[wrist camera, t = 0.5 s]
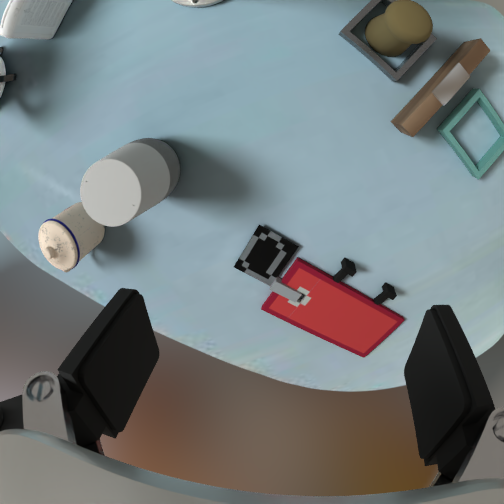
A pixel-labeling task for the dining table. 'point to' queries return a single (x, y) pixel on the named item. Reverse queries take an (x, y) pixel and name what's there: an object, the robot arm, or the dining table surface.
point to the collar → (444, 130)
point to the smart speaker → (129, 181)
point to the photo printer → (33, 18)
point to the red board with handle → (318, 296)
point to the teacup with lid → (69, 237)
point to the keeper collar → (371, 54)
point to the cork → (398, 28)
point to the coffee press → (4, 74)
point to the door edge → (440, 87)
